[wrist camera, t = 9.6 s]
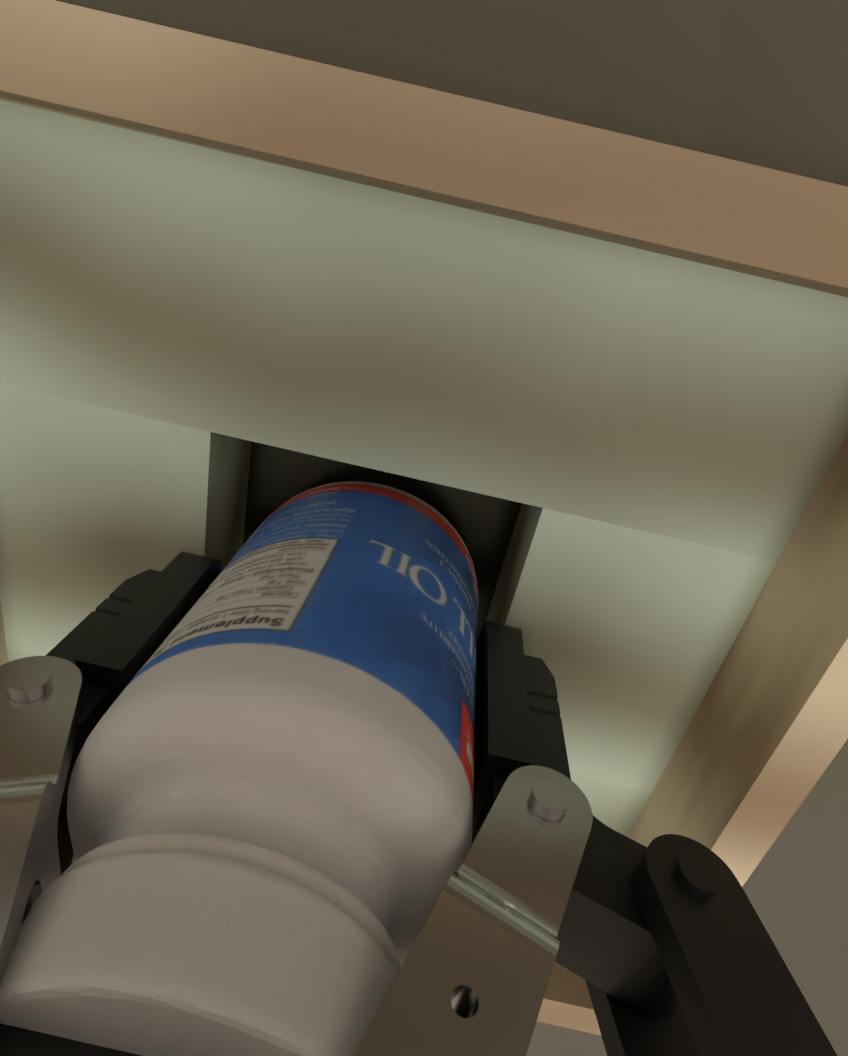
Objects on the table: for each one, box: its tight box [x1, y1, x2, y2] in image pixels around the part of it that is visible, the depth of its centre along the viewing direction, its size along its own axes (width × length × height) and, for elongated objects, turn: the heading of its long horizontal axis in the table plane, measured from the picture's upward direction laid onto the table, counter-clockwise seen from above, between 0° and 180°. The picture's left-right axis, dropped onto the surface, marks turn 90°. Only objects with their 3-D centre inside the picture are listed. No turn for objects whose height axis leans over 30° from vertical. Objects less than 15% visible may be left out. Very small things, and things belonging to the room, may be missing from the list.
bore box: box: [0, 0, 848, 1035], centre depth 13 cm, size 18×18×5 cm
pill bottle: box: [0, 481, 479, 1056], centre depth 10 cm, size 6×5×10 cm
